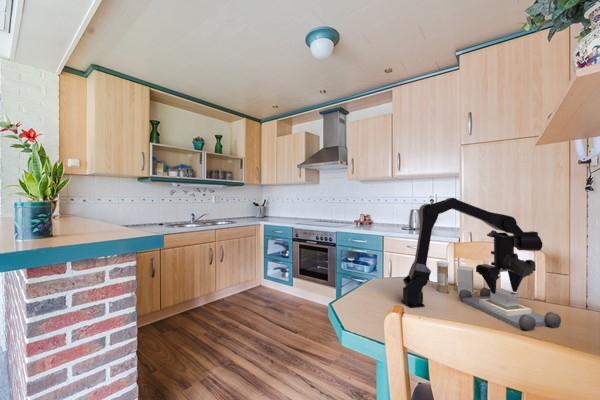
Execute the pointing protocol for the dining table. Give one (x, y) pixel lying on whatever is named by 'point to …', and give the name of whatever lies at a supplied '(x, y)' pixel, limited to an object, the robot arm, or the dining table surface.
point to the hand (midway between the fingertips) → (504, 292)
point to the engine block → (504, 299)
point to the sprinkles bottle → (442, 276)
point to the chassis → (510, 312)
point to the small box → (465, 278)
